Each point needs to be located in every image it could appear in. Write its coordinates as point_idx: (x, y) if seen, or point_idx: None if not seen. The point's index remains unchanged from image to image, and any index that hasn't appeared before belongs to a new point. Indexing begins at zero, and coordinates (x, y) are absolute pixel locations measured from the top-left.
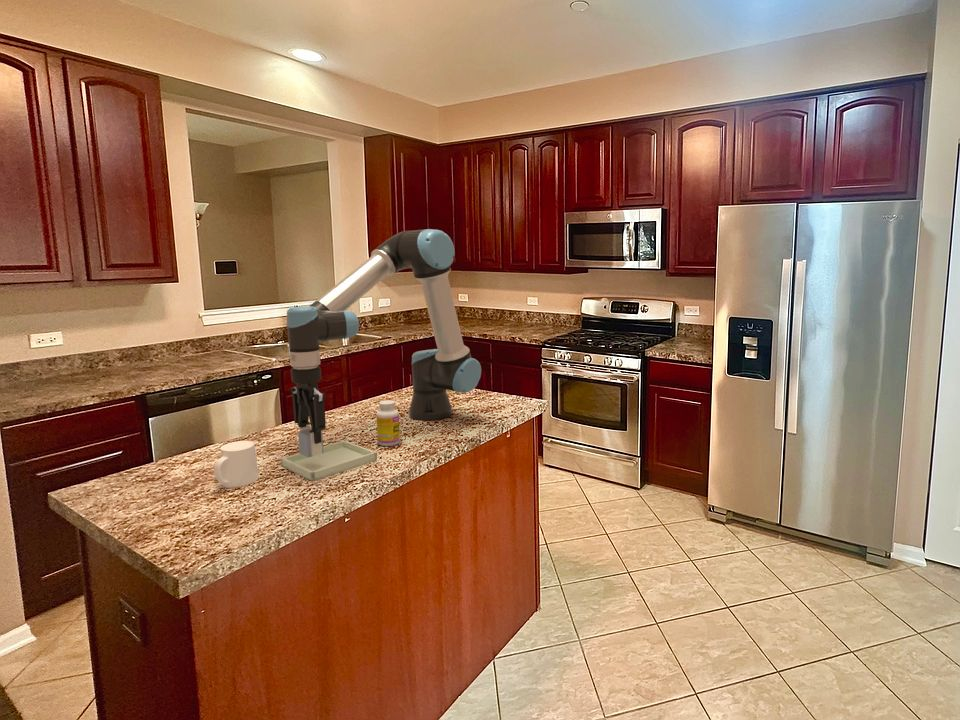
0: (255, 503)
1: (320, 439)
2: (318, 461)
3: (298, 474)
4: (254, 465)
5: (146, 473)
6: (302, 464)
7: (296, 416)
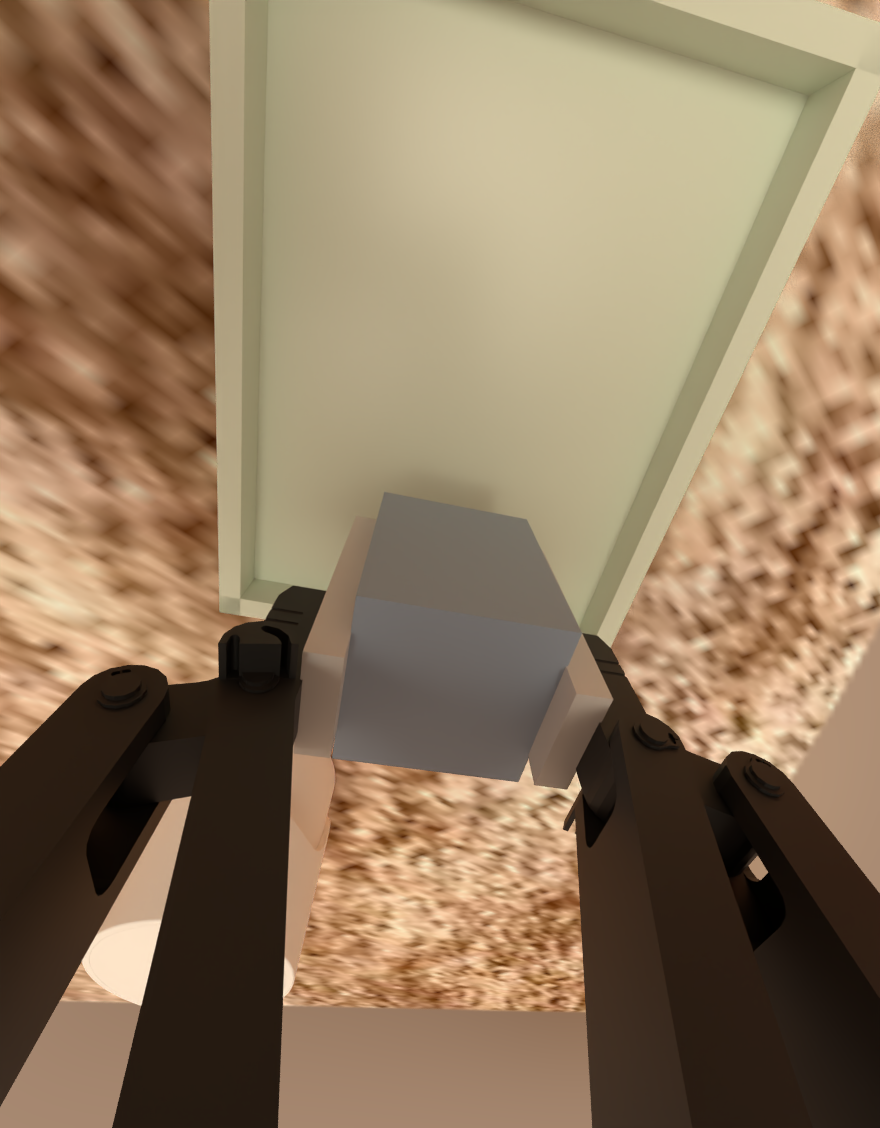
0: (523, 838)
1: (612, 667)
2: (402, 440)
3: None
4: (301, 810)
5: None
6: None
7: (123, 883)
